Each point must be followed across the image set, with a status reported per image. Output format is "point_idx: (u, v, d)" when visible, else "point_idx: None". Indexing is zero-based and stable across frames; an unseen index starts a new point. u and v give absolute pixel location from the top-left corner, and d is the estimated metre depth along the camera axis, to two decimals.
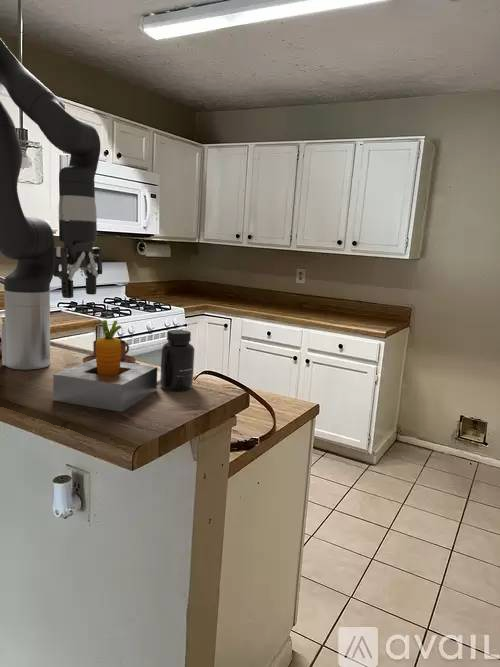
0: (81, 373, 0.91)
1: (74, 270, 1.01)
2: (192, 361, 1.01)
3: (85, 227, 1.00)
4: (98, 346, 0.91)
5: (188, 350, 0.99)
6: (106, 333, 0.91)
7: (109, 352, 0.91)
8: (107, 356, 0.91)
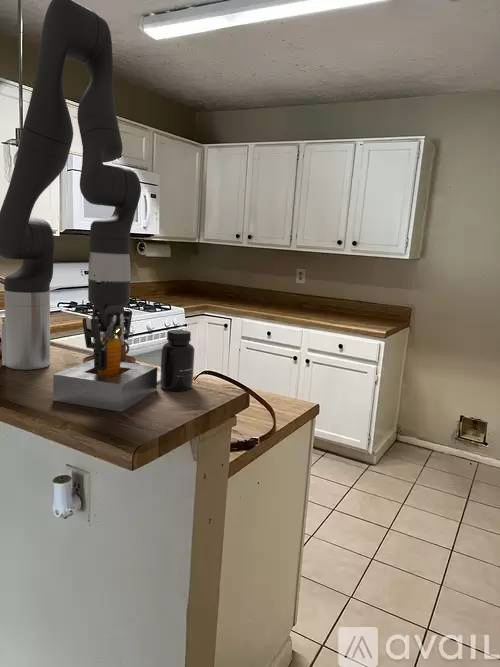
0: (81, 373, 0.91)
1: (107, 338, 0.90)
2: (192, 361, 1.01)
3: (119, 289, 0.88)
4: None
5: (188, 350, 0.99)
6: None
7: (109, 352, 0.91)
8: (107, 356, 0.91)
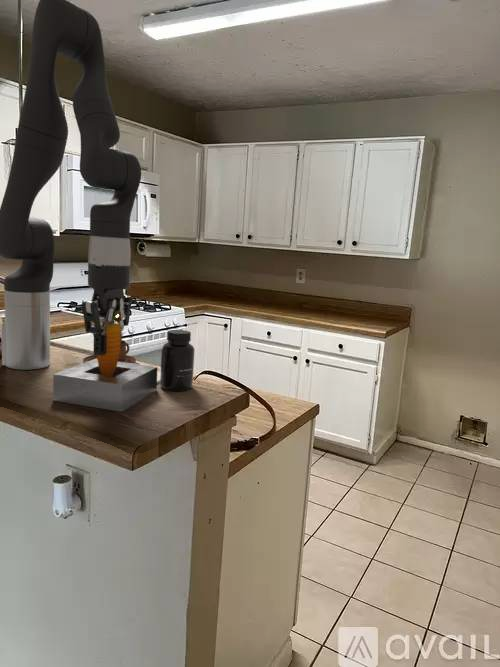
0: (81, 373, 0.91)
1: (107, 323, 0.89)
2: (192, 361, 1.01)
3: (119, 273, 0.88)
4: None
5: (188, 350, 0.99)
6: None
7: (109, 337, 0.90)
8: (107, 341, 0.90)
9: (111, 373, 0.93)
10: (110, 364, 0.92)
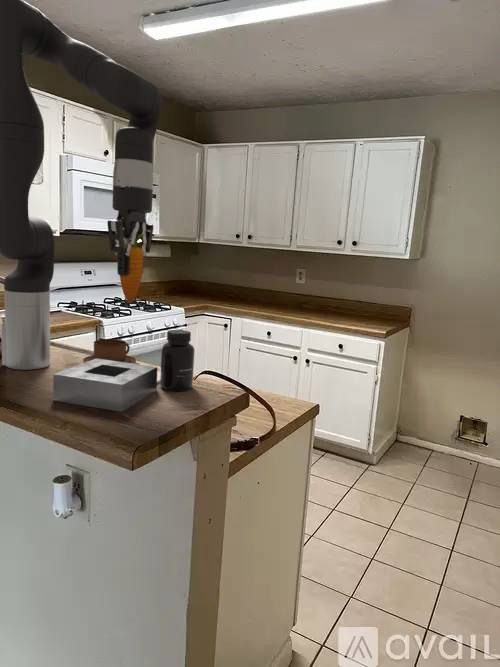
0: (81, 373, 0.91)
1: (130, 244, 0.93)
2: (192, 361, 1.01)
3: (142, 195, 0.92)
4: None
5: (188, 350, 0.99)
6: None
7: (132, 259, 0.94)
8: (130, 262, 0.94)
9: (133, 295, 0.97)
10: (133, 285, 0.96)
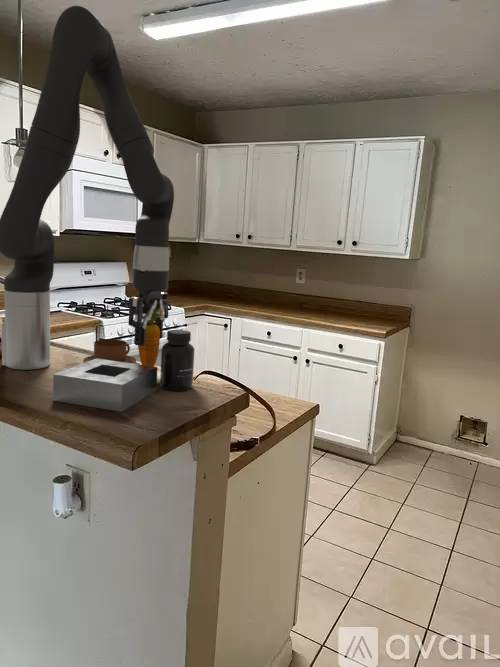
0: (81, 373, 0.91)
1: (147, 318, 1.02)
2: (192, 361, 1.01)
3: (160, 277, 1.02)
4: None
5: (188, 350, 0.99)
6: None
7: (150, 337, 1.05)
8: (149, 340, 1.05)
9: None
10: (151, 360, 1.06)
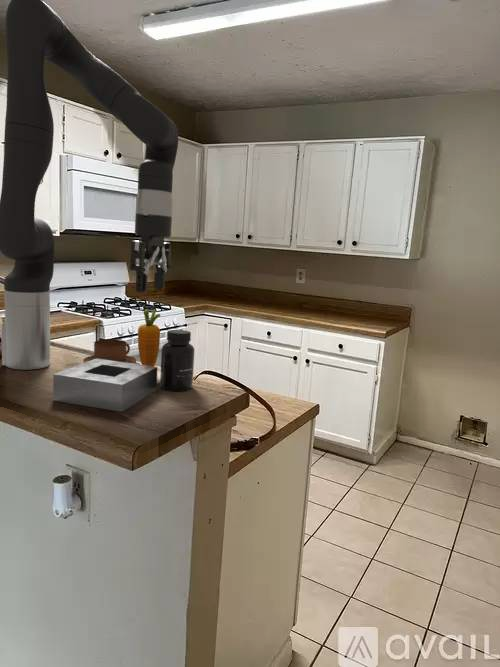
0: (81, 373, 0.91)
1: (149, 264, 1.00)
2: (192, 361, 1.01)
3: (163, 222, 1.00)
4: (141, 331, 1.05)
5: (188, 350, 0.99)
6: (148, 320, 1.05)
7: (150, 337, 1.05)
8: (149, 340, 1.05)
9: None
10: (151, 360, 1.06)
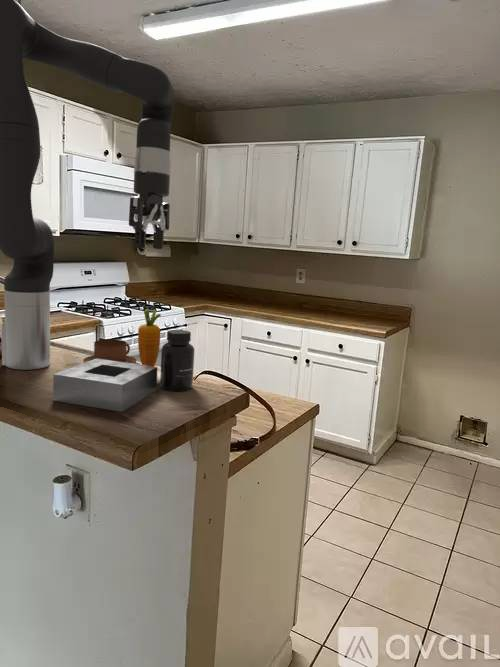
0: (81, 373, 0.91)
1: (148, 221, 1.03)
2: (192, 361, 1.01)
3: (161, 180, 1.02)
4: (141, 331, 1.05)
5: (188, 350, 0.99)
6: (148, 320, 1.05)
7: (151, 337, 1.05)
8: (149, 340, 1.05)
9: None
10: (151, 360, 1.06)
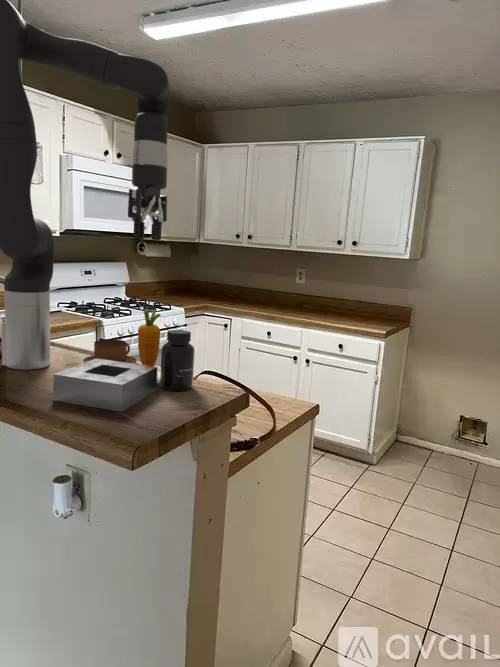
0: (81, 373, 0.91)
1: (146, 213, 1.05)
2: (192, 361, 1.01)
3: (158, 172, 1.05)
4: (141, 331, 1.05)
5: (188, 350, 0.99)
6: (148, 320, 1.05)
7: (150, 337, 1.05)
8: (149, 340, 1.05)
9: None
10: (151, 360, 1.06)
